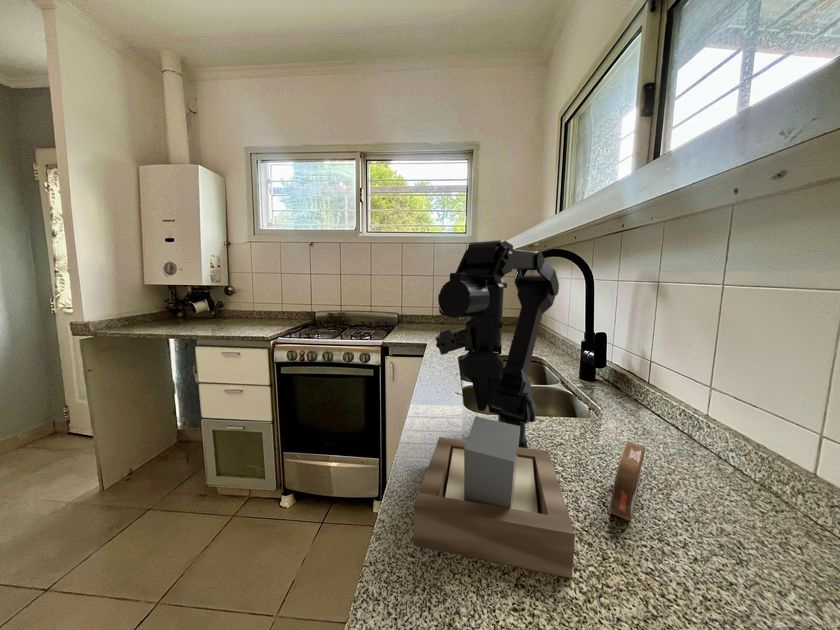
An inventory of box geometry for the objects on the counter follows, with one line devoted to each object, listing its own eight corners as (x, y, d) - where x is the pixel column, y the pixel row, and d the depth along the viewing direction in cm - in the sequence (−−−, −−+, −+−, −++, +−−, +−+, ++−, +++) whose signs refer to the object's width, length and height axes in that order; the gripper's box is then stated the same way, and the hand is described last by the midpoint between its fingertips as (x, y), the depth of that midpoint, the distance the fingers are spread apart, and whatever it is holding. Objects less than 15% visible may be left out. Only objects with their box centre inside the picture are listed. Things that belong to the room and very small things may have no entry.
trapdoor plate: (453, 452, 56) (453, 447, 55) (531, 463, 53) (532, 458, 52) (441, 526, 44) (440, 521, 44) (540, 545, 41) (541, 540, 41)
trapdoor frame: (438, 465, 60) (439, 437, 59) (546, 481, 56) (548, 450, 55) (413, 545, 41) (414, 505, 41) (571, 578, 37) (575, 534, 37)
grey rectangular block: (474, 479, 50) (475, 416, 45) (514, 491, 47) (520, 426, 42) (464, 515, 45) (464, 448, 39) (508, 530, 42) (514, 461, 37)
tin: (622, 477, 57) (625, 432, 57) (643, 484, 55) (647, 437, 55) (606, 525, 46) (610, 469, 45) (632, 536, 44) (638, 478, 43)
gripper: (447, 308, 67) (445, 381, 68) (429, 317, 49) (427, 416, 50) (502, 310, 64) (499, 386, 66) (505, 320, 46) (500, 424, 48)
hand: (482, 400), depth 57 cm, fingers open, 9 cm apart
